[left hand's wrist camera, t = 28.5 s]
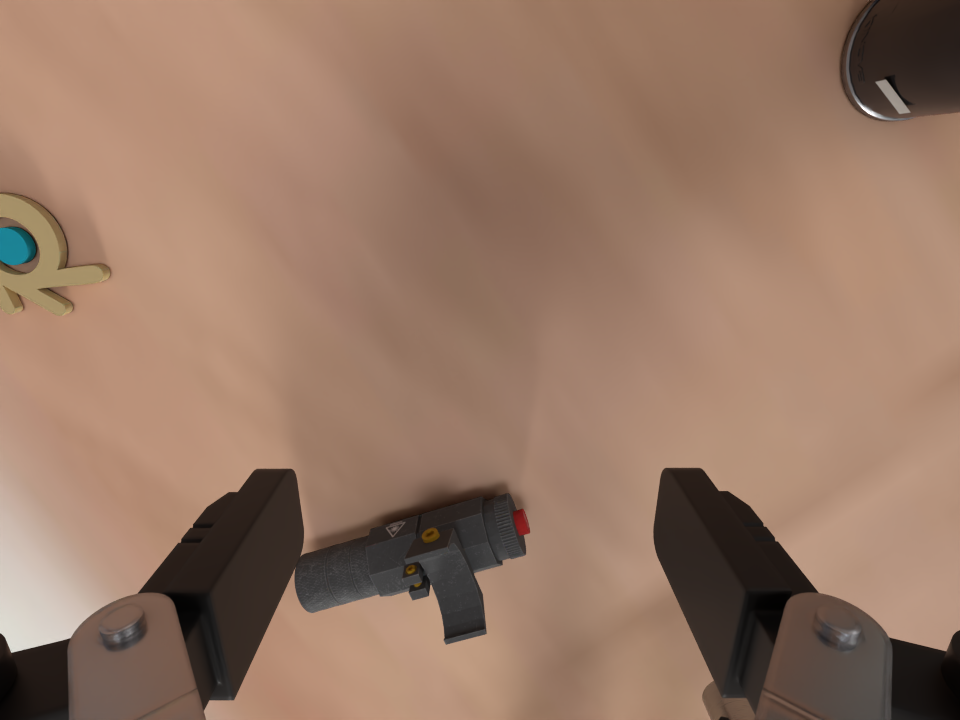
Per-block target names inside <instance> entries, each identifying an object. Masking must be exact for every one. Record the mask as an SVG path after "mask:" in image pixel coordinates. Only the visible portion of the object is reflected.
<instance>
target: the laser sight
mask: <svg viewBox="0 0 960 720" xmlns="http://www.w3.org/2000/svg"><path fill="white" fill-rule="evenodd" d="M529 533H530V528H529V524H528V520H527V517H526V514H525V511H524V509H520V510H516V507H515V504H514V502H513V500H512V498H511V496H510V494H509V493H507V494H503V495H500V496H496V497H494V499H491V500H488V501H487V500H486V499H484V498H483V497H478V498H475V499H471V500H468V501H464V502H461V503H458V504H454V505H451V506H447V507H444V508H441V509H437V510H434V511H430V512H427V513H424V514H420V515H417V516H413V517H410V518H407V519H403V520H400V521H396V522H393V523H390V524H386V525H383V526H379V527H376V528H373V529H371V530H370V534H369V536H365V537H361V538H357V539H354V540H351V541H348V542H345V543H341V544H337V545H333V546H331V547H328V548H324V549H321V550H317V551H314V552H310V553H306V554H303V555H302V556H301V557H300V558H299V561H298V563H297V565H296V569H295V588H296V593H297V596H298V599H299V601H300V603H301V605H302V607H303V608H304V609H305V610H306V611H308V612H310V613H314V612H317V611H320V610H324V609H328V608H331V607H335V606H339V605H343V604H346V603H350V602H353V601H356V600H360V599H364V598H368V597H372V596H375V595H378V594H379V595H380V596H392V595H396V594H400V593H403V592H407V591H409V594H410V596H411V598H412V600H416V599H420V598H423V597H427V596H429V591H430V585H432V587H433V590H434V592H435V595H436V597H437V600H438V603H439V607H440V610H441V614H442V619H443V625H444V636H445V638H444V642H445V644H450V643H454V642H458V641H462V640H465V639H469V638H473V637H477V636H481V635H485V634H487V633H486V623H485V613H484V602H483V594H482V592H481V589H480V587H479V585H478V583H477V580H476V578H475V576H474V573H476V572H479V571H483V570H486V569H490V568H494V567H497V566H501V565H503V563H502V560H505V559H509V558H510V559H514V558H517V557H521V556H525V555H526V546H525V539H524V535H525V534H529Z"/></svg>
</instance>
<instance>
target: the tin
mask: <svg viewBox="0 0 960 720" xmlns="http://www.w3.org/2000/svg"><path fill="white" fill-rule="evenodd" d="M702 700H703V703H704V705H705V707H706V710H707V712H708V714H709V717H710V719H711V720H719V718H720V717H721V716H722V717H727V718H729V719H730V720H754V718H755V714H754V712H753V710H752V708H751V706H750V704H749V702H748V700H747V698H722V697H721V695H720V692H719V690H718V688H717V686H716V684H715V681H713V682H711V683H710V684H709V685H708V686H707V687H706V688H705V690H704V691H703V695H702Z"/></svg>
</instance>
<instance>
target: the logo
mask: <svg viewBox="0 0 960 720" xmlns="http://www.w3.org/2000/svg"><path fill="white" fill-rule="evenodd" d="M1 217H6V218H10V219H13V220H15V221H17V222H19V223H21V224H22V225H23V226H25V227H26V228H27V229H28V230H29V231H30V232H31V233H32V235H33V236H34V237H35V239H36V241H37V243H38V246H39V250H40V260H39V263H38V265H37V267H36V268H35V269H34V270H33V271H32V272H30V273H21V272H17V271H15V270H12V269H11V268H9V267H7V266H6V265H4V264H3V263H2V262H4V263H6V264H10V265H18V264H23V263H27V262H29V261H31V260H32V259H33V258H34V256H35V253H36V247H35V243H34V241H33V239H32V238H31V236H30V235H29V234H28V233H27V232H26V231H24V230H22V229H21V228H18V227H5V228H0V260H1V261H2V262H1V261H0V307H1V309H2V310H3V311H4V312H5V313H7V314H14V313H17V312H20V311H22V309H23V305H22V303H21V301H20V299H19V297H18V295H17V293H18V294H19V295H21V296H23V297H25V298H26V299H28V300H30V301H32V302H34V303H35V304H37V305H39V306H41V307H43V308H44V309H46V310H48V311H50V312H51V313H53V314H55V315H57V316H62V315H65V314H67V313H70V312H71V311H72V309H73V306H72V303H71V302H69V301H68V300H66V299H64V298H63V297H61V296H59V295H57V294H55V293H54V292H52V291H50V290H49V289H47V288H49V287H60V286H73V285H84V284H92V283H98V282H101V281H105V280H107V279H108V278H109V276H110V270H109V268H108V267H106V266H105V265H103V264H92V265H83V266H75V267H69V268H65V265H66V261H67V246H66V241H65V238H64V235H63V232H62V230H61V228H60V226H59V225H58V223H57V222H56V221H55V219H54V218H53V217H52V216H51V215H50V213H49V212H48V211H47V210H45V209H44V208H43V207H42V206H40V205H39V204H37V203H36V202H34V201H32V200H31V199H28V198H26V197H23V196H20V195H16V194H10V193H0V218H1Z"/></svg>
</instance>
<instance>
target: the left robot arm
mask: <svg viewBox="0 0 960 720" xmlns="http://www.w3.org/2000/svg"><path fill="white" fill-rule="evenodd" d="M841 72H842V81H843V85H844V89H845V91H846V94H847V96H848V98H849V100H850V101H851V102H852V104H853V105H854V106H855V107H856V108H857V109H858V110H859V111H860V112H861V113H863V114H864V115H866V116H868V117H870V118H873V119H876V120H880V121H899V120H907V119H912V118H915V117H922V116H930V115H941V114H950V113H958V112H960V0H872V1H871V2H870V3H869V4H868V5H867V6H866V7H865V8H864V10H863V11H862V12H861V13H860V15H859V16H858V18H857V19H856V21H855V23H854V24H853V26H852V28H851V30H850V32H849V35H848V37H847V40H846V43H845V46H844V50H843V55H842V65H841ZM653 533H654V545H655V550H656V553H657V556H658V559H659V561H660V563H661V565H662V568H663V570H664V572H665V574H666V576H667V579H668V581H669V583H670V585H671V587H672V589H673V592H674V594H675V596H676V598H677V600H678V603H679V605H680V607H681V609H682V611H683V614H684V616H685V618H686V620H687V622H688V625H689V627H690V629H691V631H692V633H693V635H694V638H695V640H696V642H697V644H698V646H699V649H700V651H701V653H702V655H703V657H704V660H705V662H706V664H707V666H708V668H709V671H710V673H711V675H712V677H713V679H714V681H715V684H716V686H717V688H718V690H719V692H720V695H721V697H722V698H747V700H748V702H749V704H750V706H751V708H752V710H753V712H754V714H755V718H754V720H960V630H959V631H957V632H956V633H955V634H954V635H953V637H952V639H951V642H950V644H949V647H948V649H947V651H942V650H938V649H934V648H930V647H925V646H921V645H917V644H913V643H909V642H905V641H901V640H897V639H892V638H889V637H888V635H887V634H886V632H885V631H884V630H883V628H882V627H881V626H880V625H879V624H878V623H877V622H876V621H875V620H874V619H873V618H872V617H870V616H869V615H868V614H867V613H865V612H864V611H862V610H861V609H859V608H857V607H856V606H854V605H852V604H850V603H848V602H846V601H844V600H841V599H839V598H836V597H833V596H829V595H825V594H820V593H818V591H817V590H816V589H815V588H814V586H813V585H812V584H811V583H810V581H809V580H808V579H807V578H806V576H805V575H804V574H803V573H802V571H801V570H800V569H799V567H798V566H797V565H796V564H795V562H794V561H793V560H792V559H791V557H790V556H789V555H788V554H787V552H786V551H785V550H784V549H783V547H782V546H781V545H780V544H779V542H775V537H774V536H773V535H772V534H771V532H770V531H769V530H768V529H767V527H764V526H763V522H762V521H761V520H760V519H759V517H758V516H757V515H756V514H755V512H754V511H753V510H752V509H751V507H750V506H749V505H747V504H746V503H744V502H743V501H741V500H740V499H739V498H737V497H736V496H734V495H733V494H731V493H730V492H728V491H718V489H717V488H716V487H715V485H714V484H713V483H712V481H711V480H710V478H709V477H708V476H707V474H706V473H705V472H704V471H703V470H702V469H701V468H665V469H664V470H663V471H662V474H661V478H660V485H659V492H658V499H657V507H656V514H655V521H654V532H653ZM303 541H304V527H303V520H302V512H301V505H300V498H299V491H298V484H297V478H296V474H295V472H294V470H293V469H256V470H254V471H253V473H252V474H251V475H250V477H249V478H248V479H247V481H246V482H245V483H244V485H243V486H242V487H241V489H240V490H239V491H238V492H229V493H227V494H226V495H224V496H223V497H221V498H220V499H218V500H217V501H215V502H214V503H212V504H211V505H210V506H208V507H207V508H206V509H205V510H204V512H203V513H202V514H201V515H200V517H199V518H198V519H197V520H196V522H195V523H194V524H193V528H190V529H189V530H188V532H187V533H186V534H185V535H184V537H183V538H182V539H181V543H178V544H177V545H176V546H175V548H174V549H173V550H172V551H171V553H170V554H169V555H168V556H167V558H166V559H165V560H164V561H163V563H162V564H161V565H160V566H159V568H158V569H157V570H156V571H155V573H154V574H153V575H152V576H151V578H150V579H149V580H148V581H147V583H146V584H145V585H144V586H143V588H142V589H141V590H140V591H139V592H138V594H135V595H131V596H127V597H124V598H121V599H119V600H116V601H114V602H112V603H110V604H108V605H106V606H104V607H103V608H101V609H99V610H98V611H96V612H95V613H93V614H92V615H91V616H90V617H88V618H87V619H86V620H85V621H84V622H83V623H82V624H81V625H80V626H79V627H78V628H77V630H76V631H75V632H74V634H73V635H72V637H71V638H70V639H66V640H63V641H59V642H55V643H51V644H46V645H42V646H38V647H34V648H30V649H26V650H22V651H18V652H13V653H11V651H10V649H9V646H8V644H7V642H6V639H5V637H4V636H3V635H2V634H0V720H206V718H205V714H204V710H205V708H206V706H207V704H208V702H209V700H234V699H235V697H236V695H237V693H238V690H239V688H240V686H241V684H242V682H243V680H244V677H245V675H246V673H247V671H248V669H249V667H250V664H251V662H252V660H253V658H254V656H255V654H256V651H257V649H258V647H259V645H260V643H261V641H262V638H263V636H264V634H265V632H266V630H267V628H268V625H269V623H270V621H271V619H272V617H273V615H274V612H275V610H276V608H277V606H278V604H279V602H280V600H281V597H282V595H283V593H284V591H285V589H286V587H287V584H288V582H289V580H290V578H291V576H292V574H293V571H294V569H295V567H296V565H297V563H298V561H299V558H300V555H301V552H302V548H303Z"/></svg>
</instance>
